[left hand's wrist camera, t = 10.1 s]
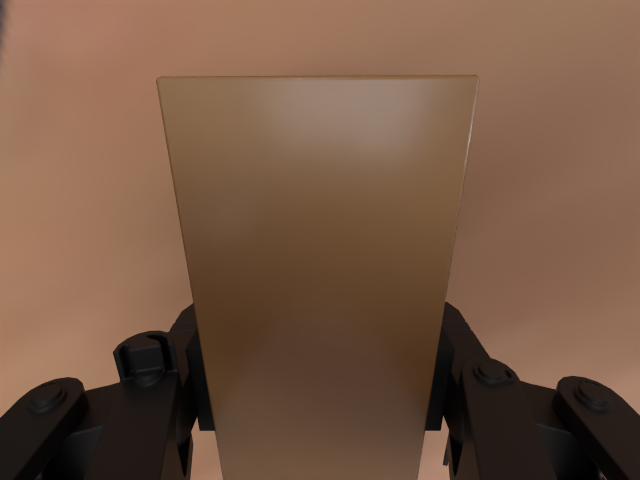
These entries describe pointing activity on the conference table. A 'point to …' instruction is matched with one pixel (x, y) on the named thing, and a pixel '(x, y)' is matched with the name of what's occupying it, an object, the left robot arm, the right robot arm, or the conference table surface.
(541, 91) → the conference table surface
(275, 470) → the bar
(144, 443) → the left robot arm
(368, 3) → the conference table surface
